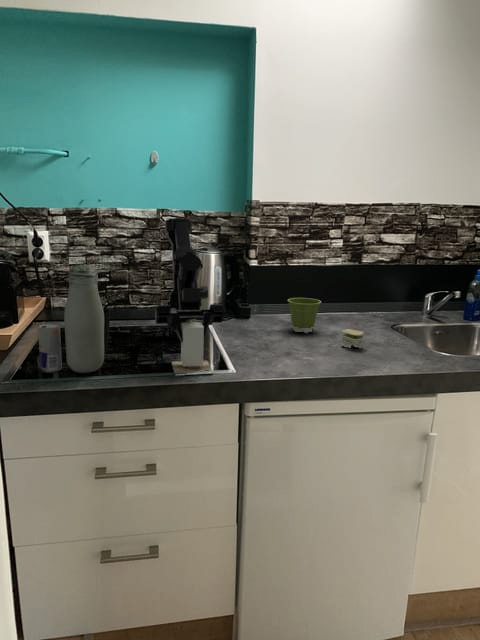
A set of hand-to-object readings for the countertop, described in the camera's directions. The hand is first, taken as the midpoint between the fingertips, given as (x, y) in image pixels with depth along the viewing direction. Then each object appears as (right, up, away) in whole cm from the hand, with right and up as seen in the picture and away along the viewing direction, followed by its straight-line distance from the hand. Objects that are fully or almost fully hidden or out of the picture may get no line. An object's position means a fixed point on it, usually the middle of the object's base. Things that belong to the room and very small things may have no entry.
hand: (192, 340), depth 138 cm
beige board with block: (-1, -8, +3) cm, 9 cm away
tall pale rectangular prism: (0, -6, +3) cm, 7 cm away
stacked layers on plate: (+49, -4, +29) cm, 57 cm away
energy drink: (-38, -8, 0) cm, 38 cm away
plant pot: (+35, +1, +47) cm, 59 cm away
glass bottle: (-28, -8, -1) cm, 29 cm away
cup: (-30, -4, +18) cm, 35 cm away
